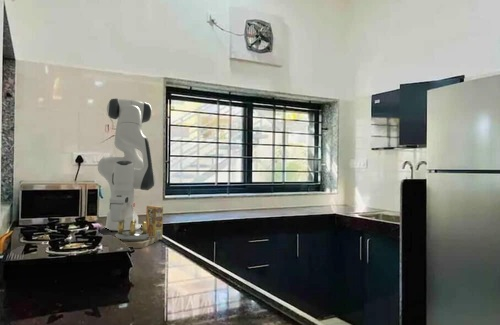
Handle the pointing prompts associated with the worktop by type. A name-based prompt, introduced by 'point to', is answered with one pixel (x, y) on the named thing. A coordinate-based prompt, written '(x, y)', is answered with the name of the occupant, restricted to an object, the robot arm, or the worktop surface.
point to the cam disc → (132, 232)
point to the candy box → (154, 221)
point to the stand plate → (141, 242)
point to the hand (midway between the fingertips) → (122, 229)
